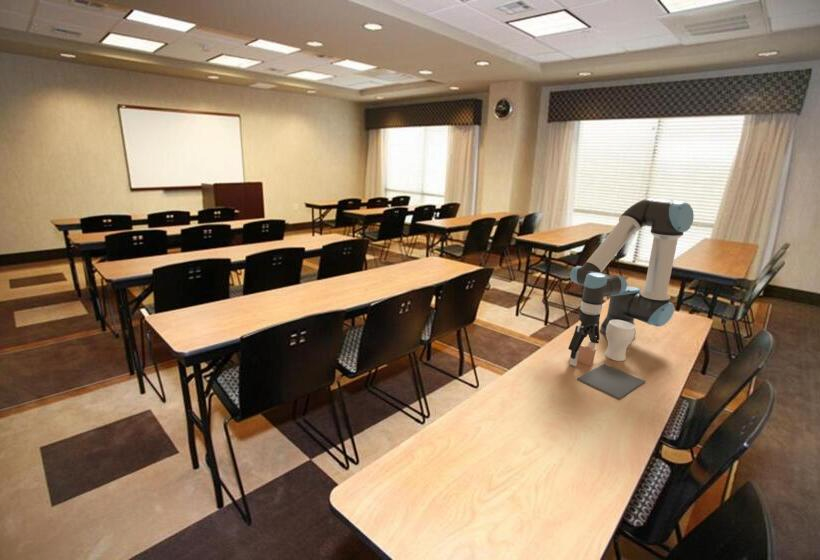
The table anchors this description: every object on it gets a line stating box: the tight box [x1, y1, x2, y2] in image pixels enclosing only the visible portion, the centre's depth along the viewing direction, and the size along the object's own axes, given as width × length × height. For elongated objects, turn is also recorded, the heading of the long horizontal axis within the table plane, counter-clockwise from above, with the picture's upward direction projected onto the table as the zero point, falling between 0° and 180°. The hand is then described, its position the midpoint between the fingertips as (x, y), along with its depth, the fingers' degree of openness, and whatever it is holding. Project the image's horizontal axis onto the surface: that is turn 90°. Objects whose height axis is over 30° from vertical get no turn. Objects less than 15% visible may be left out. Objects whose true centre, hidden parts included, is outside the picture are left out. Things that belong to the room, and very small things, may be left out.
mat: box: [576, 363, 646, 400], centre depth 152 cm, size 20×16×1 cm
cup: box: [604, 320, 636, 362], centre depth 169 cm, size 11×11×15 cm
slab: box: [577, 344, 596, 367], centre depth 165 cm, size 2×9×7 cm, turn 38°
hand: (581, 360), depth 166 cm, fingers open, 12 cm apart
